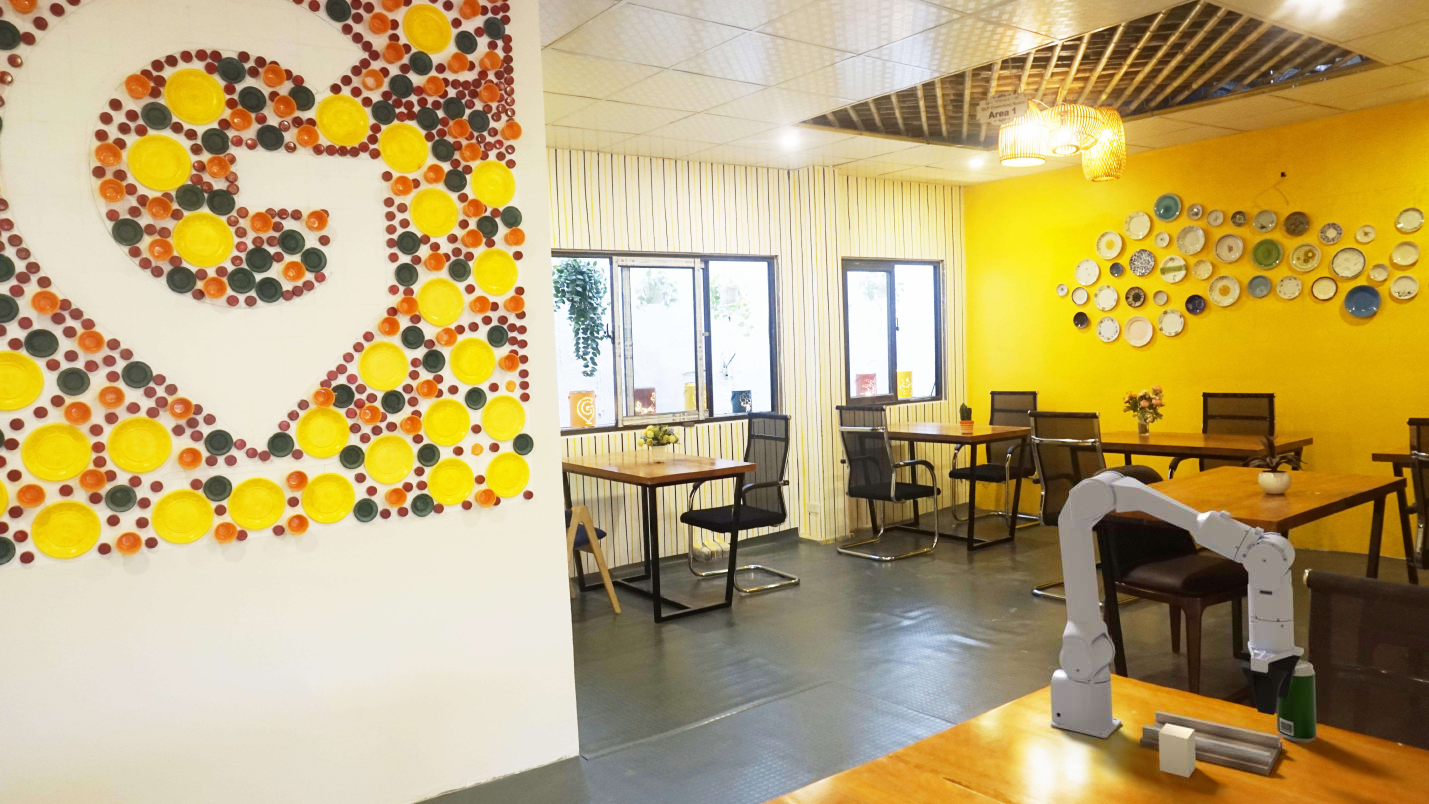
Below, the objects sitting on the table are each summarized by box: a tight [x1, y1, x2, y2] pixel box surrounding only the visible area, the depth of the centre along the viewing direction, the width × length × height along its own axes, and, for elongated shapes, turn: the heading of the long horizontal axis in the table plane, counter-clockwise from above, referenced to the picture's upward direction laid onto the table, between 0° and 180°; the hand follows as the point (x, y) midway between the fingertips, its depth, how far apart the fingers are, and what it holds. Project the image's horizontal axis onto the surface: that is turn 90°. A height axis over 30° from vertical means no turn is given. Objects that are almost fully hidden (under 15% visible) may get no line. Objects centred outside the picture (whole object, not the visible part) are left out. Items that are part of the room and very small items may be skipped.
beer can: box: [1276, 659, 1318, 744], centre depth 145 cm, size 5×5×12 cm
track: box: [1139, 710, 1283, 776], centre depth 143 cm, size 18×11×2 cm, turn 48°
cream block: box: [1158, 723, 1197, 778], centre depth 137 cm, size 4×4×6 cm
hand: (1273, 704), depth 134 cm, fingers open, 7 cm apart
